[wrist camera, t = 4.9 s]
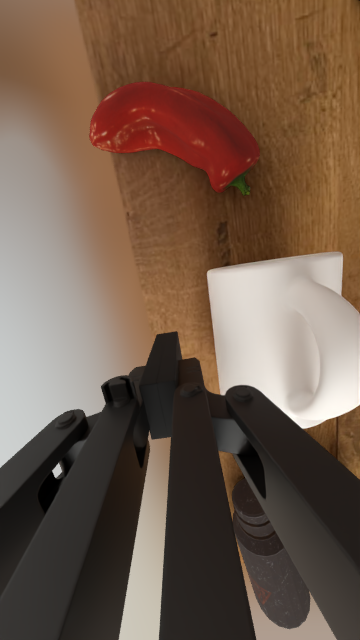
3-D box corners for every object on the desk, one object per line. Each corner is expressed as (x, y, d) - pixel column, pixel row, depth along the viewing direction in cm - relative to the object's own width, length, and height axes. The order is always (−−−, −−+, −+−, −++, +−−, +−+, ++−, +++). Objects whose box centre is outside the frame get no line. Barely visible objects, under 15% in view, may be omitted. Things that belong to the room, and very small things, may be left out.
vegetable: (230, 223, 17) (95, 155, 16) (260, 158, 16) (119, 78, 15) (250, 208, 13) (66, 110, 11) (293, 117, 12) (96, -4, 10)
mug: (213, 373, 21) (256, 508, 9) (200, 270, 18) (238, 272, 6) (294, 362, 20) (449, 487, 9) (293, 255, 18) (510, 231, 6)
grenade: (251, 542, 18) (294, 675, 19) (294, 497, 20) (329, 618, 21) (205, 480, 25) (238, 581, 26) (241, 452, 27) (269, 546, 29)
